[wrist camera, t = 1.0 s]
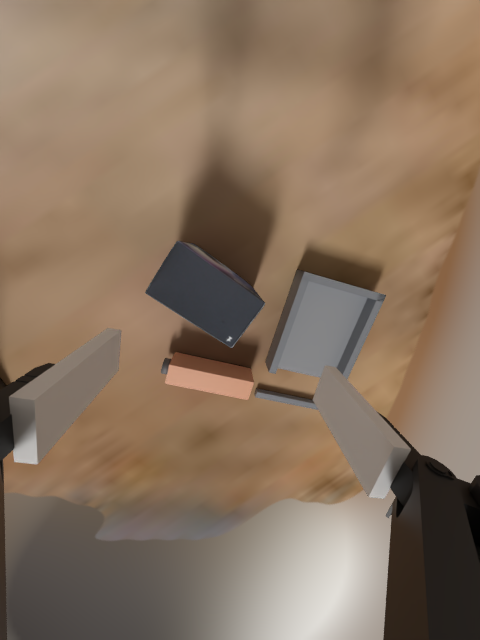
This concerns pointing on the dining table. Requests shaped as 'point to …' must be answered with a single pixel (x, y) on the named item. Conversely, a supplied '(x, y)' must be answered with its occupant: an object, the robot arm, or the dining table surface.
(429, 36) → the dining table surface
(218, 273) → the small box
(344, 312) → the tray
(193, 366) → the bar
